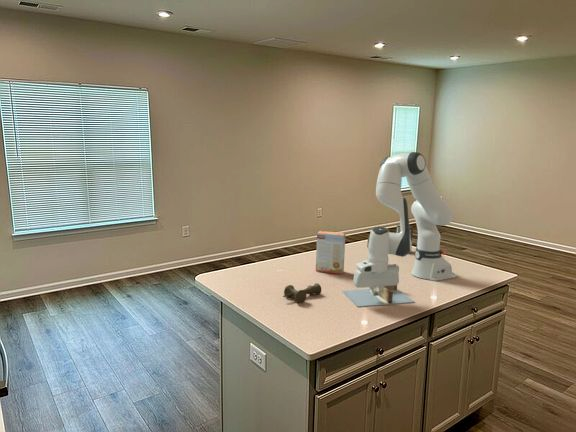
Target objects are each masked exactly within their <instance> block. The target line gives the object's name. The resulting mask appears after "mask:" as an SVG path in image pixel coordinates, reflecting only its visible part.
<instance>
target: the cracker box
mask: <svg viewBox="0 0 576 432" xmlns="http://www.w3.org/2000/svg"><path fill="white" fill-rule="evenodd" d="M315 252H316V253H315V255H316V257H315V271H316V272H319V273H320V272H322V273H329V274H336V275H342V274H343V273H344V270H345V253H346V232H337V231H328V230H327V231H326V230H318V232H317V233H316V251H315Z"/></svg>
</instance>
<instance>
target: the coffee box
mask: <svg viewBox="0 0 576 432" xmlns="http://www.w3.org/2000/svg"><path fill="white" fill-rule="evenodd" d="M413 229H414V228H413V226H412V225H409V230H410V237H411V242H412V243H413ZM400 231H401V230H400V224H397V225H396V233H400ZM409 254H412V250H411V251H410V253H409Z"/></svg>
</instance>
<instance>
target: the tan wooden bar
mask: <svg viewBox="0 0 576 432" xmlns="http://www.w3.org/2000/svg"><path fill="white" fill-rule="evenodd" d="M377 288H378V287H374V289H373V290H374V291H376V290H377ZM379 296H380V297H382V298H383V299H385V300H386V301H387V302H388V303H392V298H393V292H392V291H390V290H388V289H386V288H385V287H383V286H382V289H381V291H380V292H379Z"/></svg>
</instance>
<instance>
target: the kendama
mask: <svg viewBox="0 0 576 432" xmlns="http://www.w3.org/2000/svg"><path fill="white" fill-rule="evenodd" d="M321 293H322V286H321V284H319V283H316V282H315V283H314V284H313V285H307V287H306V288H304V289H300V290H296V288H295V286H294V285H291V284H289V285H286V286H285V288H284V291H283V296H282V297H283V298H294V300H295V303H296V304H303V303H304V302H305V301H306V299H307V295H309V296H313V295H314V294H316V295H321Z"/></svg>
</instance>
